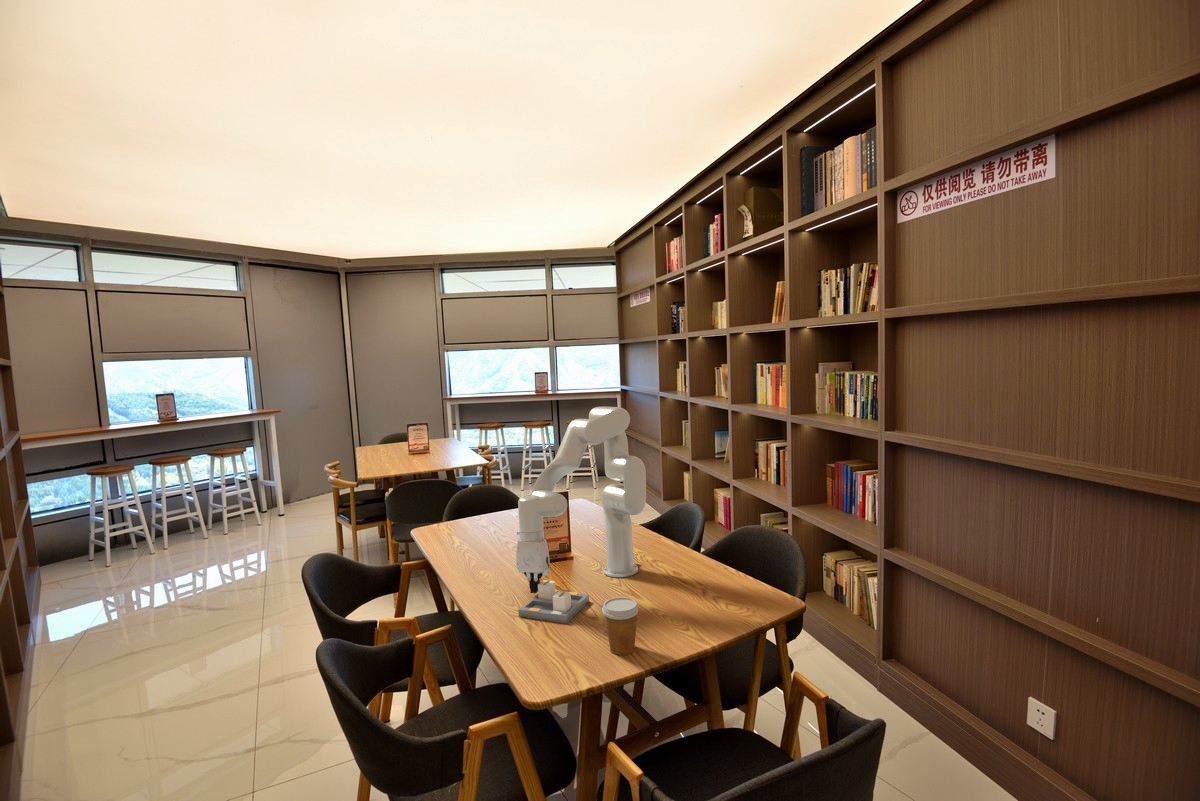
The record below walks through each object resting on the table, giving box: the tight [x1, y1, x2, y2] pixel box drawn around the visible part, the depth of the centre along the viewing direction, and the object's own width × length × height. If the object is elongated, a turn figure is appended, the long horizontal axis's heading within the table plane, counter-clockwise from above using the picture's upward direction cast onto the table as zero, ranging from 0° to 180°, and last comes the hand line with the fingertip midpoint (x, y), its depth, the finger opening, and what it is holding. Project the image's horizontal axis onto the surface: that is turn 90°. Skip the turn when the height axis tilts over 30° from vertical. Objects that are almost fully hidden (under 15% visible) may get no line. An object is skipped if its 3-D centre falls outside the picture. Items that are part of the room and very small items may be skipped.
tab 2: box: [537, 579, 557, 600], centre depth 174 cm, size 4×4×5 cm
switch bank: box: [517, 589, 590, 624], centre depth 169 cm, size 16×16×2 cm
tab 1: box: [553, 591, 571, 613], centre depth 164 cm, size 4×4×5 cm
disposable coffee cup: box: [601, 596, 640, 656], centre depth 142 cm, size 10×10×12 cm
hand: (535, 591), depth 176 cm, fingers closed
